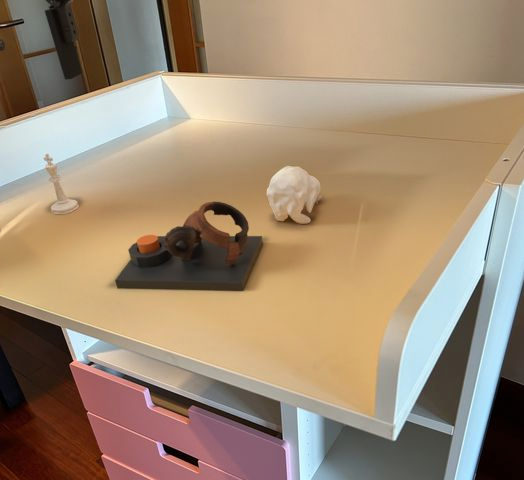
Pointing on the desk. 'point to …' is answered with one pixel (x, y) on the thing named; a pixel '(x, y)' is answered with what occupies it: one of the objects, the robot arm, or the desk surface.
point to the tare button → (148, 244)
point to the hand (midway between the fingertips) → (20, 80)
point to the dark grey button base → (189, 268)
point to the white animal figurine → (293, 194)
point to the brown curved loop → (208, 233)
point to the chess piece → (59, 191)
